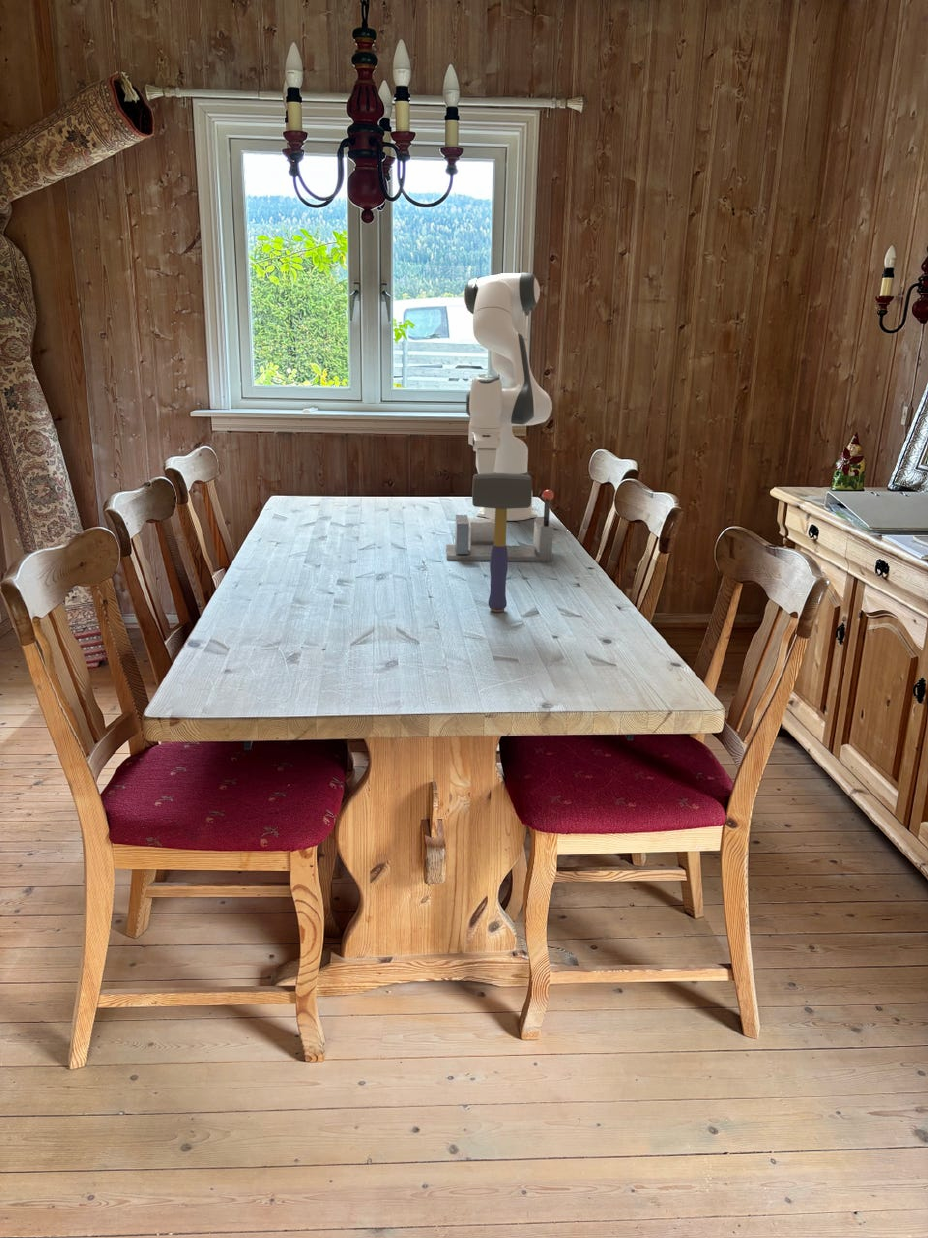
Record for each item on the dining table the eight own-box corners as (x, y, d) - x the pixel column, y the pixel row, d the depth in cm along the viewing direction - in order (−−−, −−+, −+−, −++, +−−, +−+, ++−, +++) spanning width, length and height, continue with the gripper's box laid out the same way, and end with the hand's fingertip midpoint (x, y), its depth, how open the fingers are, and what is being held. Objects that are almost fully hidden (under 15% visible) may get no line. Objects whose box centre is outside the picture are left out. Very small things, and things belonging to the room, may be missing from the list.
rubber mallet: (468, 615, 209) (472, 475, 200) (468, 605, 216) (472, 469, 207) (527, 616, 209) (533, 476, 200) (524, 606, 216) (531, 470, 207)
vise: (446, 548, 264) (447, 481, 259) (545, 550, 265) (549, 482, 260) (446, 560, 253) (448, 489, 247) (551, 561, 254) (554, 491, 248)
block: (463, 543, 272) (464, 518, 270) (499, 543, 272) (500, 518, 270) (464, 547, 267) (464, 522, 265) (500, 548, 267) (501, 522, 265)
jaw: (455, 544, 263) (455, 514, 261) (468, 544, 264) (469, 514, 261) (456, 554, 253) (457, 523, 251) (470, 554, 253) (471, 523, 251)
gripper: (471, 432, 270) (470, 482, 274) (474, 442, 251) (473, 495, 255) (494, 433, 270) (492, 483, 275) (499, 442, 251) (497, 496, 255)
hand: (483, 489), depth 265 cm, fingers open, 8 cm apart
